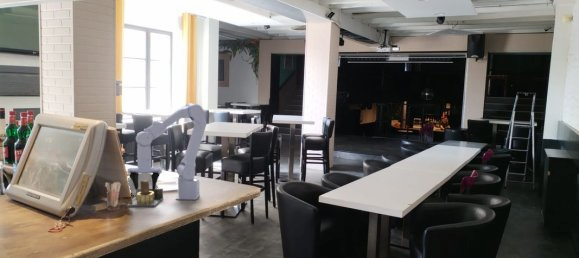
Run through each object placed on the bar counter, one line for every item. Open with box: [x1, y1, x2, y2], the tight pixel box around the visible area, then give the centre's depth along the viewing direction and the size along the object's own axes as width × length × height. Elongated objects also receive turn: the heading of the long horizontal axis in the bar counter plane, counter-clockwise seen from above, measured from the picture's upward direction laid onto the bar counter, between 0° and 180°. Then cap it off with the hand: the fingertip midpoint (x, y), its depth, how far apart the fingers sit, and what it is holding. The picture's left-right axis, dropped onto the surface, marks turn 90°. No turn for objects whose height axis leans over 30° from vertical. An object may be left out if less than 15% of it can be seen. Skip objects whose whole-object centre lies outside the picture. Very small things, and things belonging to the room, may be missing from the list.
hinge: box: [127, 173, 159, 197], centre depth 208 cm, size 17×5×10 cm, turn 154°
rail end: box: [140, 180, 149, 195], centre depth 189 cm, size 4×4×9 cm
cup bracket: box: [127, 188, 164, 208], centre depth 189 cm, size 12×12×5 cm
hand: (145, 188), depth 189 cm, fingers open, 7 cm apart
